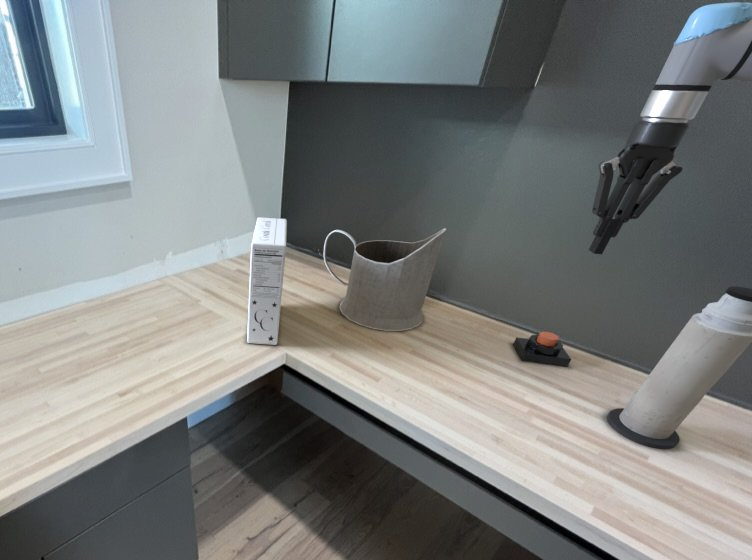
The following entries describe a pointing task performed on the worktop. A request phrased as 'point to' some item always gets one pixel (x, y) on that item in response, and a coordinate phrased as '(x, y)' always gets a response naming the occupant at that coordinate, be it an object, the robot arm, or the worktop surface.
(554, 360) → the button block
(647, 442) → the coaster
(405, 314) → the pitcher
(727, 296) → the thermos bottle
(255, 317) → the cereal box
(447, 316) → the worktop surface
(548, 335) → the lid button
